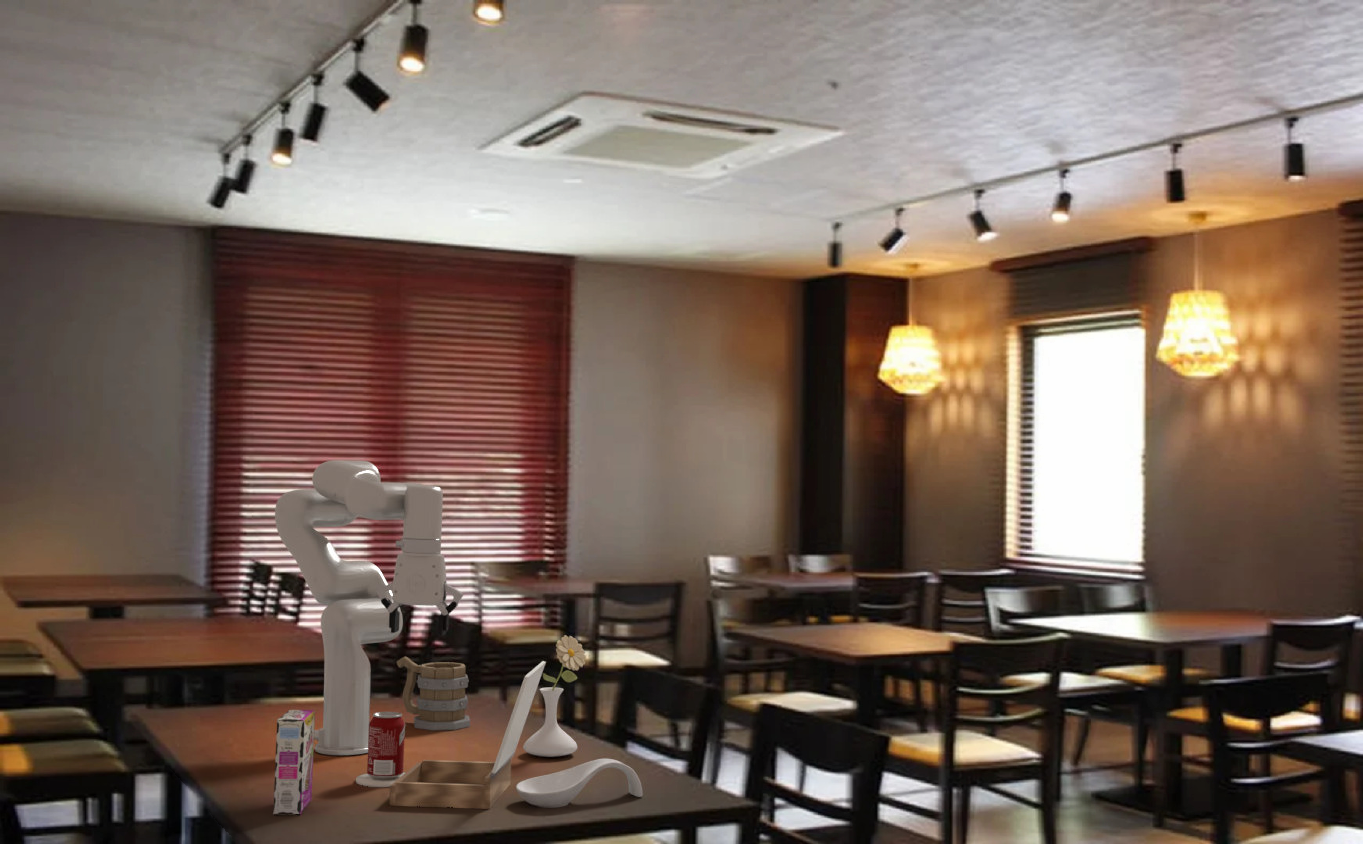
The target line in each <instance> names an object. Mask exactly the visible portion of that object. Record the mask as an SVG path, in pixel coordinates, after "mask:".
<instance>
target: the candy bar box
mask: <svg viewBox="0 0 1363 844" xmlns="http://www.w3.org/2000/svg"><path fill="white" fill-rule="evenodd" d="M315 715H316V710H314V709H313V710H311V709H288V711H286V712H285V713H284V714H283V715H282V716H280V717H279V718H278V719H277V720H276V734H275V735H276V740H275V760H274V761H275V763H274V764H275V765H274V786H273V787H274V788H273V792H274V793H273V809H272V810H273V812H272V815H274V814H300V815H302V813H303V812H304V810H305V809H306V808H307V807H308V805H309V804H310V803H311V801H312V798H313V797H312V796H313V795H312V794H313V771H314V769H313V767H314V749H315V740H314V730H315V721H316V716H315ZM309 802H310V803H309ZM305 807H306V808H305ZM302 811H303V812H302Z"/></svg>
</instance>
